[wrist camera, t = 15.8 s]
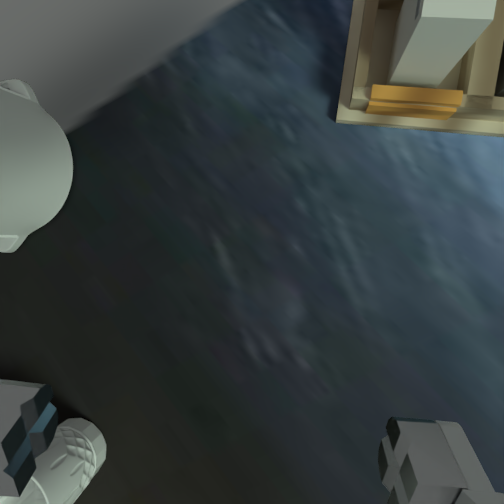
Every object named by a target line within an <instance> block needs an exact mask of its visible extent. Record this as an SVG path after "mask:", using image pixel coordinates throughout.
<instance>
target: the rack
mask: <svg viewBox="0 0 504 504" xmlns="http://www.w3.org/2000/svg"><path fill="white" fill-rule="evenodd" d="M403 2H404V0H354V1H353V8H352V15H351V22H350V29H349V35H348V42H347V49H346V56H345V63H344V70H343V77H342V83H341V90H340V97H339V104H338V111H337V118H336V123H346V124H357V125H369V126H380V127H392V128H403V129H415V130H427V131H438V132H450V133H461V134H473V135H484V136H496V137H504V0H497V1H496V7H495V13H494V18H493V21H492V22H491V23H490V24H489V25H488V27H487V28H486V29H485V30H484V31H483V33H482V34H481V35H480V36H479V37H478V39H477V40H476V41H475V42H474V43H473V45H472V46H471V47H470V48H469V49H468V51H467V52H466V53H465V54H464V55H463V57H462V58H461V59H460V60H459V61H458V63H457V64H456V65H455V66H454V67H453V69H452V70H451V71H450V72H449V73H448V75H447V76H446V77H445V78H444V79H443V81H442V82H441V83H440V84H439V85H438V87H437V88H436V89H432V88H418V87H404V86H390V85H386V84H387V78H388V71H389V65H390V58H391V52H392V45H393V39H394V32H395V26H396V21H397V18H398V15H399V13H400V10H401V7H402V5H403Z"/></svg>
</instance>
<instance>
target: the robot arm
mask: <svg viewBox="0 0 504 504" xmlns="http://www.w3.org/2000/svg"><path fill="white" fill-rule="evenodd" d="M72 176H73V160H72V154H71V149H70V146H69V143H68V140H67V138H66V136H65V134H64V132H63V130H62V128H61V127H60V126H59V124H58V123H57V122H56V121H55V119H54V118H53V117H51V115H49V114H48V113H47V112H46V111H45V110H44V109H43V108H42V107H41V106H40V104H39V102H38V100H37V98H36V96H35V94H34V92H33V90H32V88H31V86H30V85H29V84H28V83H26V82H24V81H22V80H18V79H10V80H3V81H0V252H7V253H12V252H14V251H15V250H17V249H18V248H19V246H20V245H21V244H22V243H23V241H24V240H25V239H26V237H27V236H28V235H29V234H30V233H31V232H33V231H35V230H36V229H38V228H40V227H42V226H43V225H45V224H46V223H48V222H49V221H50V220H51V219H52V218H53V217H54V216H55V215H56V214H57V213H58V212H59V210H60V209H61V207H62V206H63V204H64V202H65V200H66V198H67V196H68V193H69V190H70V187H71V182H72ZM53 396H54V395H53V392H52V388H51V386H50V385H45V384H37V383H29V382H21V381H12V380H3V379H0V496H9V497H20V496H21V494H22V492H23V490H24V489H25V487H26V485H27V484H28V482H29V480H30V479H31V477H32V475H33V473H34V472H35V470H36V460H35V458H37V457H38V456H39V455H41V454H42V453H44V452H45V451H46V450H47V449H48V448H49V446H50V444H51V442H52V440H53V439H54V436H55V432H56V429H57V426H58V413H57V409H56V408H55V407H54V406H53V405H52V404H51V403H50V400H51V399H52V397H53ZM386 429H387V433H388V436H386V437H385V438H383V439H382V440H381V443H380V447H379V454H378V464H379V472H380V476H381V480H382V483H383V484H384V485H385V486H386V487H387V489H388V490H389V491H390V492H391V494H390V497H389V499H388V502H387V504H504V494H503V493H497V492H495V491H494V489H493V487H492V485H491V483H490V481H489V479H488V477H487V475H486V474H485V472H484V470H483V468H482V466H481V464H480V462H479V460H478V458H477V456H476V454H475V452H474V450H473V448H472V447H471V445H470V443H469V441H468V439H467V437H466V435H465V433H464V431H463V429H462V427H461V426H460V425H459V424H458V423H457V422H446V421H433V420H427V419H415V418H403V417H391V418H390V419H389V420H388V423H387V425H386Z"/></svg>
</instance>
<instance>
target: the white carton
mask: <svg viewBox="0 0 504 504" xmlns="http://www.w3.org/2000/svg"><path fill="white" fill-rule="evenodd" d="M496 1H497V0H404V2H403V5H402V7H401V10H400V13H399V15H398V18H397V21H396V26H395V32H394V39H393V45H392V52H391V58H390V65H389V71H388V78H387V84H386V85H390V86H404V87H418V88H432V89H436V88H437V87H438V85H439V84H440V83H441V82H442V81H443V79H444V78H445V77H446V76H447V75H448V73H449V72H450V71H451V70H452V69H453V67H454V66H455V65H456V64H457V63H458V61H459V60H460V59H461V58H462V57H463V55H464V54H465V53H466V52H467V51H468V49H469V48H470V47H471V46H472V45H473V43H474V42H475V41H476V40H477V39H478V37H479V36H480V35H481V34H482V33H483V31H484V30H485V29H486V28H487V27H488V25H489V24H490V23H491V22H492V21H493V18H494V13H495V7H496Z"/></svg>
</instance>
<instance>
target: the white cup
mask: <svg viewBox="0 0 504 504" xmlns="http://www.w3.org/2000/svg"><path fill="white" fill-rule="evenodd" d="M105 459H106V443H105V440H104V437H103V435H102V432H101V431H100V430H99V429H98V428H97V427H96V426H95V425H94V424H93V423H92V422H89V421H87V420H85V419H83V418H69V419H67V420H65V421H64V422H62V423H61V424H59V425H58V426H57V429H56V432H55V436H54V439H53V440H52V442H51V444H50V446H49V448H48V449H47V450H46V451H45V452H44V453H42V454H41V455H39V456H38V457H37V458H35V460H36V470H35V472H34V473H33V475H32V477H31V479H30V480H29V482H28V484H27V485H26V487H25V489H24V490H23V492H22V494H21V496H20V497H9V496H0V504H73V503H74V502H75V501H76V499H77V498H78V497H79V496H80V494H81V493H82V492H83V490H84V489H85V488H86V486H87V485H88V484H89V482H90V481H91V479H92V478H93V477H94V475H95V474H96V473H97V472H98V471H99V469H100V467H101V466H102V464H103V462H104V461H105Z"/></svg>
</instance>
